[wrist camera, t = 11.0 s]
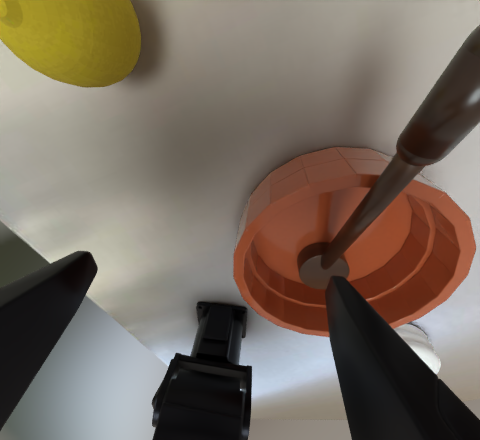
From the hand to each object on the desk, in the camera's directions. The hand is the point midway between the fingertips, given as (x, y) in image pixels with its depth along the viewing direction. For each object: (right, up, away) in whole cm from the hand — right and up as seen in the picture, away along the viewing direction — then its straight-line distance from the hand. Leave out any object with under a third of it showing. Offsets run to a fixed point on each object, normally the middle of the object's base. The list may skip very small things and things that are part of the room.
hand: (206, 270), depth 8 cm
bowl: (+9, +1, +13) cm, 16 cm away
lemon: (-6, +14, +6) cm, 17 cm away
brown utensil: (+9, +4, +10) cm, 14 cm away
